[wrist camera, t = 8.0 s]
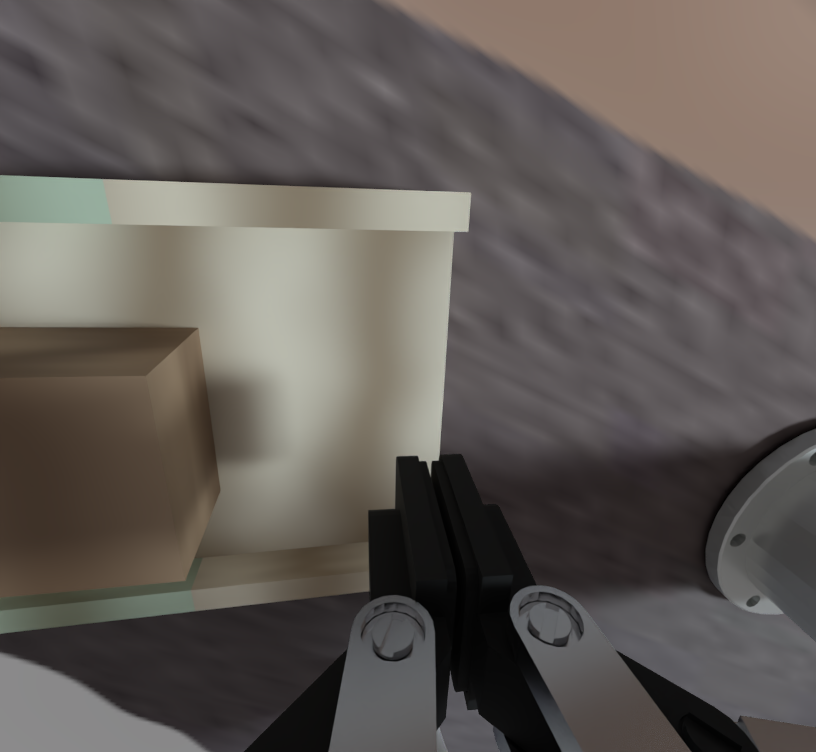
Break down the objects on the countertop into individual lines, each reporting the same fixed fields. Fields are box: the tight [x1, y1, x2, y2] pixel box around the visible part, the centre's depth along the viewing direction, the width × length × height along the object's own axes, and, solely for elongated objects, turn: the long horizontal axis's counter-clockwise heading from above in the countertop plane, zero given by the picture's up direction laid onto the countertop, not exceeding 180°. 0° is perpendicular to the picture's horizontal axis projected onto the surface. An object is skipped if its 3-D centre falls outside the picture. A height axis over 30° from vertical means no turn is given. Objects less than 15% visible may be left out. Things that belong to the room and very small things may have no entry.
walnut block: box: [0, 327, 221, 598], centre depth 12 cm, size 6×6×4 cm
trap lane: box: [0, 175, 471, 634], centre depth 14 cm, size 23×14×4 cm, turn 88°
